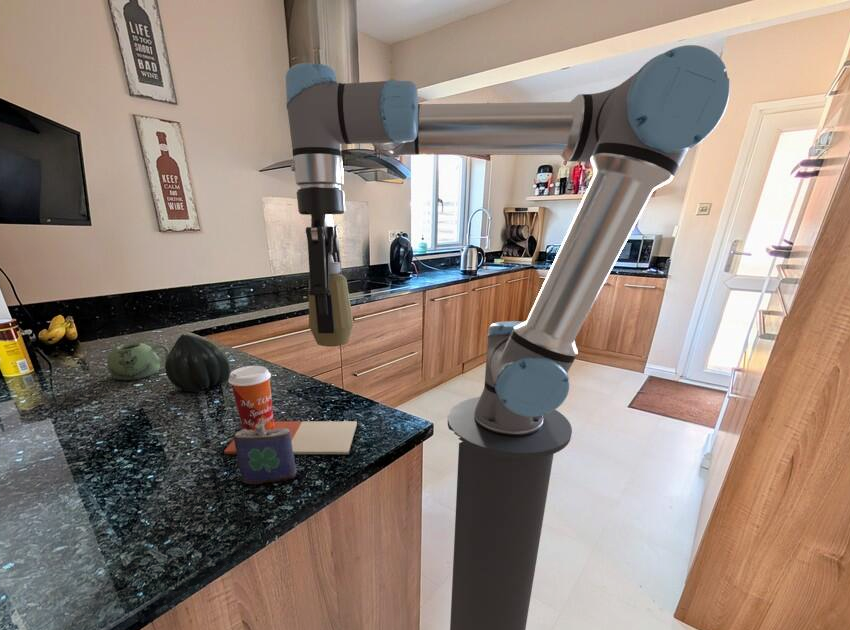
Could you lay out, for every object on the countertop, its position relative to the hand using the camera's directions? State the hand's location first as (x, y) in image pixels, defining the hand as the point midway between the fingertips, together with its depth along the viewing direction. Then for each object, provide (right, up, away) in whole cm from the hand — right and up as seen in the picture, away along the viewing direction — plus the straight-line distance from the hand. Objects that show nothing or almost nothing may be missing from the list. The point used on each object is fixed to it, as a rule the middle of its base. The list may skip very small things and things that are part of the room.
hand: (331, 326), depth 72 cm
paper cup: (-16, -21, +8) cm, 28 cm away
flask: (-10, -27, -4) cm, 29 cm away
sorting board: (-9, -22, +8) cm, 25 cm away
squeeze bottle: (0, -3, +1) cm, 3 cm away
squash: (-41, -11, +34) cm, 55 cm away
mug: (-64, -7, +44) cm, 78 cm away
